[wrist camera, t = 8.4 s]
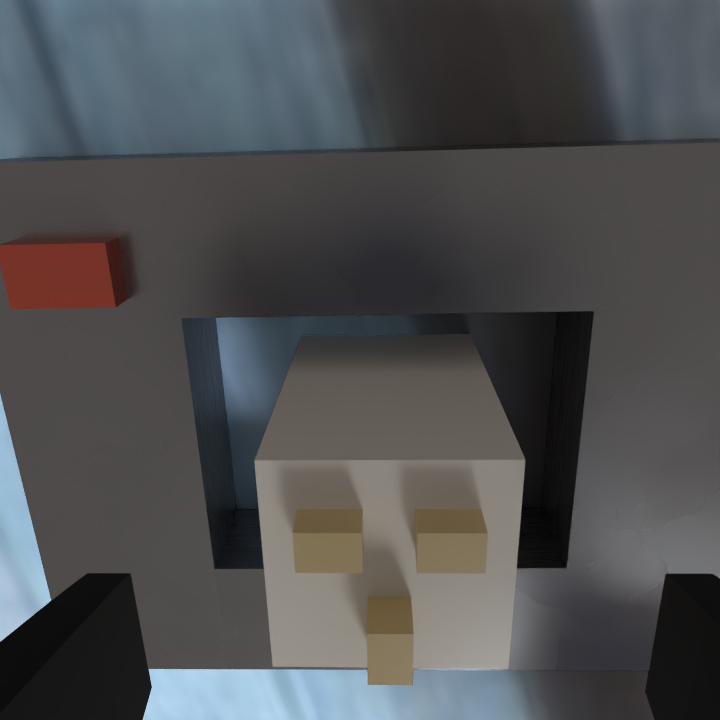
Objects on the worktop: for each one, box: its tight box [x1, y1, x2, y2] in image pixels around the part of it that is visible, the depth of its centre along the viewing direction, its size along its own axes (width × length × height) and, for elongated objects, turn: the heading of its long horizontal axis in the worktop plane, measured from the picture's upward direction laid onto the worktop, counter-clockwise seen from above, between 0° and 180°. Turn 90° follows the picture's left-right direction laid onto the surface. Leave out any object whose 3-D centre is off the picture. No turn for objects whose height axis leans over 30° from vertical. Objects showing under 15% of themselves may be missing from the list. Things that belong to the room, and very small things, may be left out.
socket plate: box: [0, 139, 720, 671], centre depth 14 cm, size 16×12×3 cm
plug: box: [254, 334, 525, 685], centre depth 12 cm, size 4×4×7 cm
